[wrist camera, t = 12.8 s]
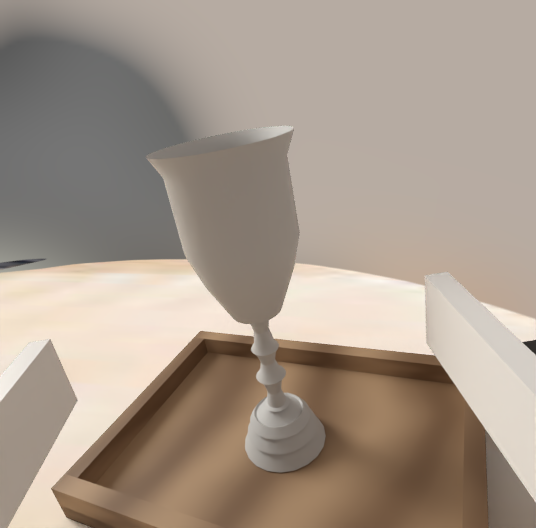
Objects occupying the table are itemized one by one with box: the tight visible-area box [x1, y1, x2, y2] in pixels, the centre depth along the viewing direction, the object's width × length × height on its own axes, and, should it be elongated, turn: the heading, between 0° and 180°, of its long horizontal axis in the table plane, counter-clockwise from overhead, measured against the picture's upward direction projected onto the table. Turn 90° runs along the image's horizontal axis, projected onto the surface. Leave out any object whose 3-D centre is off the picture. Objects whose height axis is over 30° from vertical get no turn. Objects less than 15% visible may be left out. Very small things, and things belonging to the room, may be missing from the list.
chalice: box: [146, 126, 326, 473], centre depth 23 cm, size 7×7×18 cm
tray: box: [51, 331, 488, 528], centre depth 26 cm, size 22×16×2 cm
